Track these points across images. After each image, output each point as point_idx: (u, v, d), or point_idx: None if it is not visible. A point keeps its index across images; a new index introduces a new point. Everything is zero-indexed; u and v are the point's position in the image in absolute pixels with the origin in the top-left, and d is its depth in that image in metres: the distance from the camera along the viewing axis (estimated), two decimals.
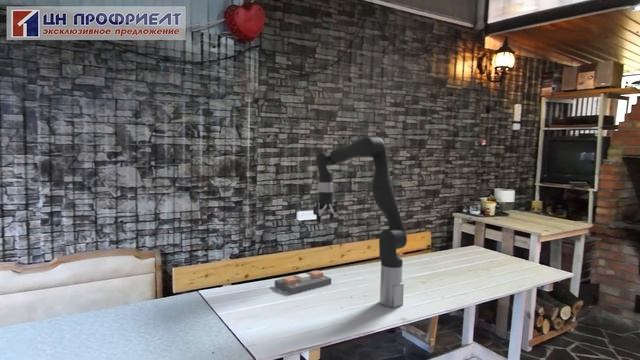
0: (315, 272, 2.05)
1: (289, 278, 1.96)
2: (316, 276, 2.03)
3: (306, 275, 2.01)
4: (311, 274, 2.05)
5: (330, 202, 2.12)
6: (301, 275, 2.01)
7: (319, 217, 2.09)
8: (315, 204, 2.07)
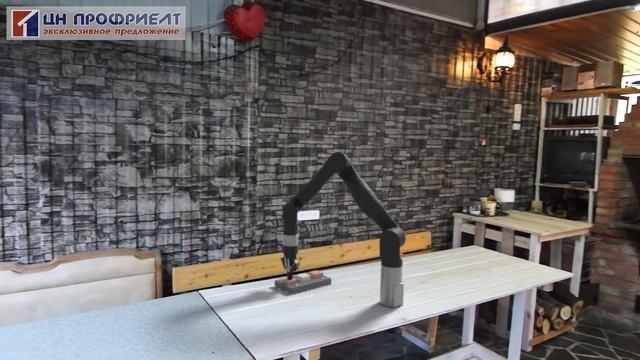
0: (315, 272, 2.05)
1: None
2: (316, 276, 2.03)
3: (306, 275, 2.01)
4: (311, 274, 2.05)
5: None
6: (301, 275, 2.01)
7: None
8: (297, 265, 1.91)
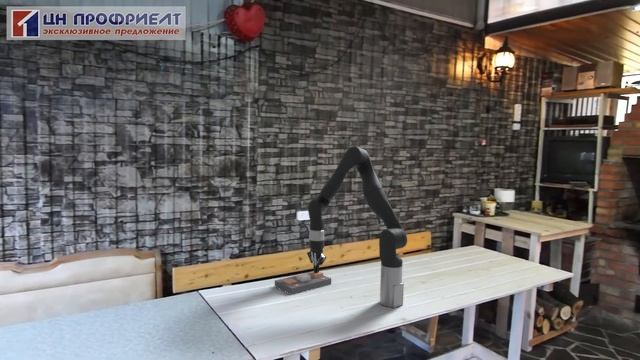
0: None
1: (289, 280, 1.96)
2: (316, 276, 2.03)
3: (306, 275, 2.01)
4: (311, 274, 2.05)
5: None
6: (301, 275, 2.01)
7: None
8: (324, 258, 2.01)
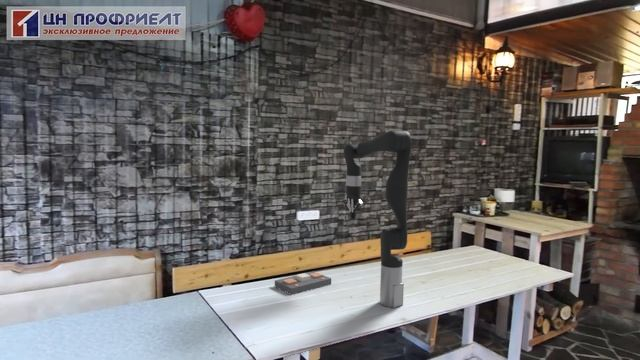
0: (315, 274, 2.05)
1: (289, 280, 1.96)
2: (316, 278, 2.03)
3: (306, 275, 2.01)
4: (311, 276, 2.05)
5: None
6: (301, 275, 2.01)
7: None
8: (361, 204, 1.99)
